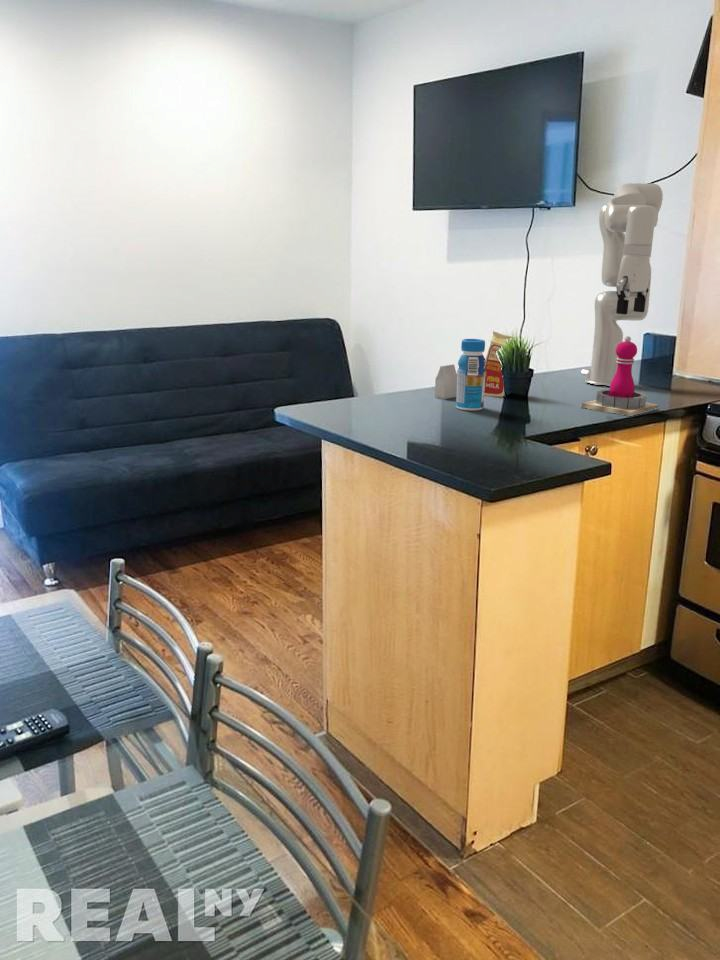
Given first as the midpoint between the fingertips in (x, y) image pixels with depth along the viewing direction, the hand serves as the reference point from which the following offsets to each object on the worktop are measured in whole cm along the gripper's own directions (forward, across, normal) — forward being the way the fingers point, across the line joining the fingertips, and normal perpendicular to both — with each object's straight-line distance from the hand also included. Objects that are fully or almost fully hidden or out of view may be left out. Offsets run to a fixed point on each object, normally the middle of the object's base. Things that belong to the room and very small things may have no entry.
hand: (630, 312), depth 235 cm
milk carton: (+29, +11, -38) cm, 48 cm away
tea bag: (+28, +28, -44) cm, 60 cm away
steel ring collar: (+27, +1, 0) cm, 27 cm away
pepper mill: (+27, 0, 0) cm, 27 cm away
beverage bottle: (+28, +36, -28) cm, 54 cm away
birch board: (+28, +1, 0) cm, 28 cm away
